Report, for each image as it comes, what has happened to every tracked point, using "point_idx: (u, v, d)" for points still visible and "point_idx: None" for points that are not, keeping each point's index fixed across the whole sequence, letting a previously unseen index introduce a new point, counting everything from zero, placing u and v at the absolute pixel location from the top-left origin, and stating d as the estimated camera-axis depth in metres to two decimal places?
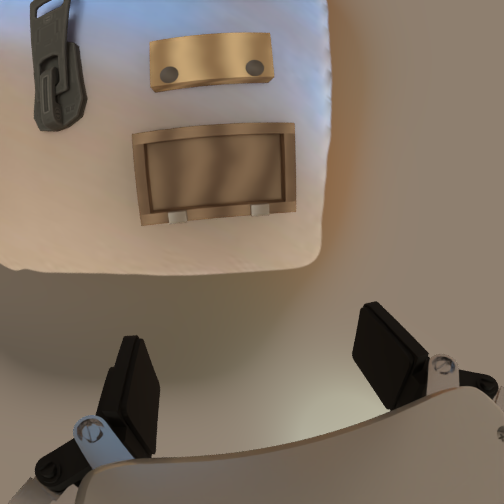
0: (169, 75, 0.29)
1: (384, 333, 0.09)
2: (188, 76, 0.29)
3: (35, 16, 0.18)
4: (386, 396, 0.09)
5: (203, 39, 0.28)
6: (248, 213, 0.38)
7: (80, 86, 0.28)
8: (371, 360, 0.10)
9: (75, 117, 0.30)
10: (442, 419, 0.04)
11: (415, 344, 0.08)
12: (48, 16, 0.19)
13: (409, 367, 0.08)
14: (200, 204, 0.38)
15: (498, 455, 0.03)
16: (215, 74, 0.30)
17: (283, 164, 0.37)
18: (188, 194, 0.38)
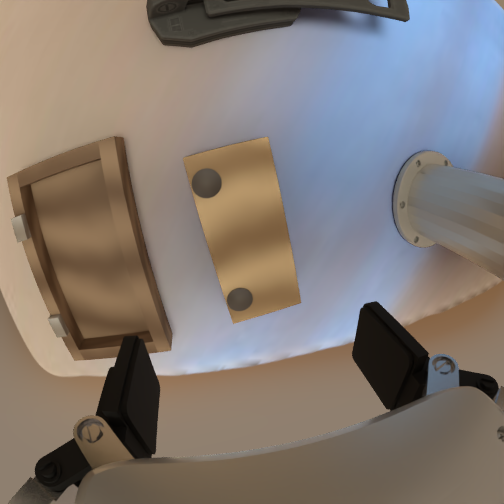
0: (205, 184, 0.22)
1: (384, 333, 0.09)
2: (207, 213, 0.23)
3: None
4: (386, 396, 0.09)
5: (276, 220, 0.24)
6: (50, 312, 0.23)
7: (212, 35, 0.19)
8: (371, 361, 0.10)
9: (159, 36, 0.18)
10: (442, 419, 0.04)
11: (415, 344, 0.08)
12: None
13: (409, 367, 0.08)
14: (47, 247, 0.23)
15: (498, 455, 0.03)
16: (217, 252, 0.24)
17: (118, 341, 0.27)
18: (54, 229, 0.23)
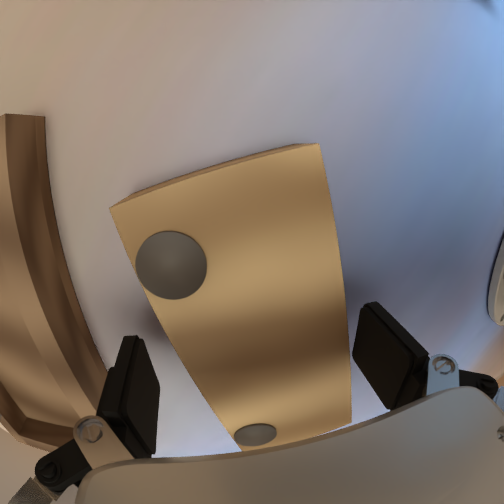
0: (167, 270, 0.09)
1: (384, 333, 0.09)
2: (181, 327, 0.10)
3: None
4: (386, 396, 0.09)
5: (329, 327, 0.11)
6: None
7: None
8: (371, 361, 0.10)
9: None
10: (442, 419, 0.04)
11: (415, 344, 0.08)
12: None
13: (409, 367, 0.08)
14: None
15: (498, 455, 0.03)
16: (211, 385, 0.11)
17: (66, 440, 0.13)
18: None
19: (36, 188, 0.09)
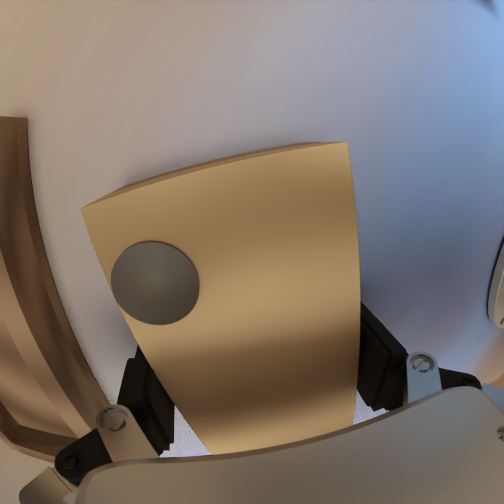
0: (149, 290, 0.07)
1: (363, 330, 0.10)
2: (166, 355, 0.08)
3: None
4: (366, 393, 0.09)
5: (338, 358, 0.09)
6: None
7: None
8: None
9: None
10: (442, 419, 0.04)
11: (393, 341, 0.08)
12: None
13: (387, 364, 0.08)
14: None
15: (498, 455, 0.03)
16: (199, 416, 0.09)
17: (58, 449, 0.12)
18: None
19: (18, 193, 0.08)
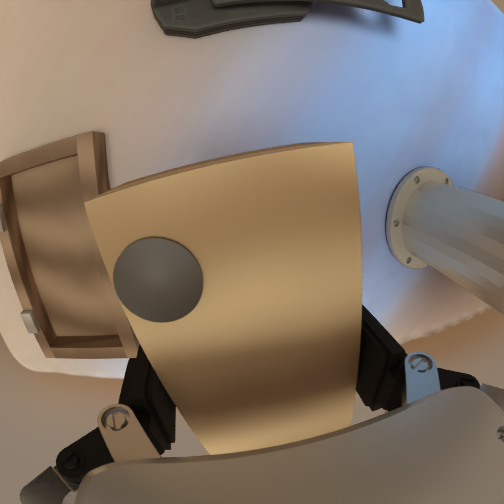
0: (152, 286, 0.07)
1: (361, 330, 0.10)
2: (167, 353, 0.08)
3: None
4: (365, 393, 0.09)
5: (339, 358, 0.09)
6: (23, 307, 0.21)
7: (218, 26, 0.17)
8: None
9: (161, 24, 0.16)
10: (442, 419, 0.04)
11: (391, 341, 0.08)
12: None
13: (385, 364, 0.08)
14: (23, 240, 0.21)
15: (498, 455, 0.03)
16: (198, 415, 0.09)
17: (88, 343, 0.25)
18: (31, 223, 0.21)
19: (103, 168, 0.20)
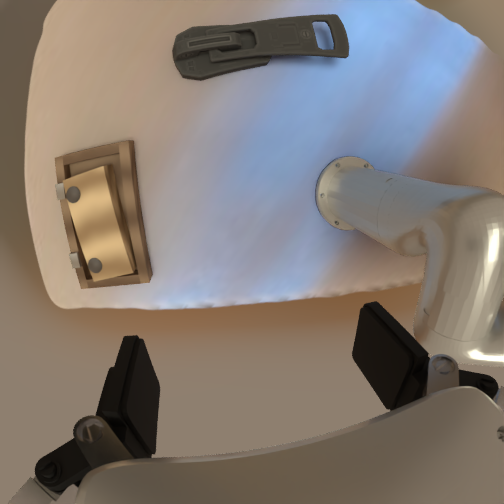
0: (72, 195, 0.33)
1: (384, 333, 0.09)
2: (74, 212, 0.34)
3: (315, 20, 0.29)
4: (386, 396, 0.09)
5: (110, 216, 0.35)
6: (71, 250, 0.37)
7: (214, 74, 0.33)
8: (371, 360, 0.10)
9: (180, 72, 0.32)
10: (442, 419, 0.04)
11: (415, 344, 0.08)
12: (309, 34, 0.29)
13: (409, 367, 0.08)
14: None
15: (498, 455, 0.03)
16: (80, 234, 0.35)
17: None
18: None
19: (133, 162, 0.36)
